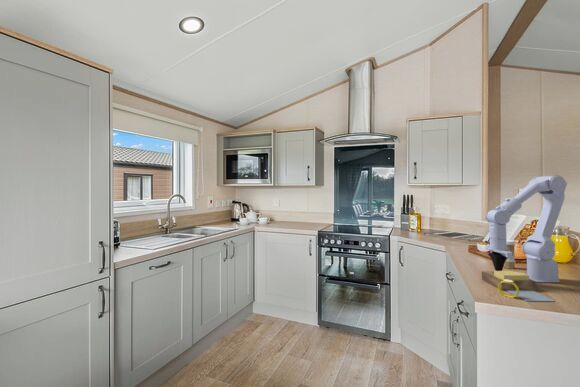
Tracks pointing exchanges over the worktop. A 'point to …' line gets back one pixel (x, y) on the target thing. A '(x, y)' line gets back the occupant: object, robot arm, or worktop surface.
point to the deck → (493, 280)
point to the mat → (531, 296)
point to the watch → (509, 283)
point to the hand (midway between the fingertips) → (498, 270)
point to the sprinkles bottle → (511, 260)
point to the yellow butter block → (511, 275)
